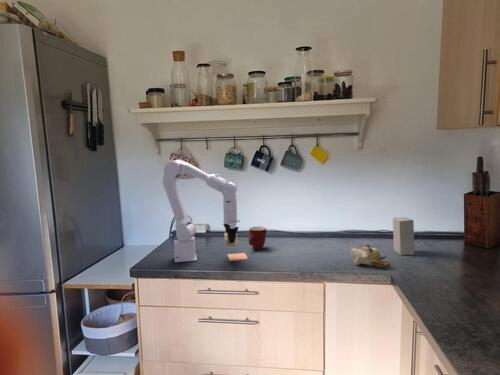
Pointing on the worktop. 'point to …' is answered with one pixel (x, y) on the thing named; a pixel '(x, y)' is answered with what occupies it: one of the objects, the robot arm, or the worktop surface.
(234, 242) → the block
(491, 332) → the worktop surface
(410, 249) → the skincare box
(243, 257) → the coaster
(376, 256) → the ceramic sculpture
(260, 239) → the mug
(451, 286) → the worktop surface
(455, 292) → the worktop surface
